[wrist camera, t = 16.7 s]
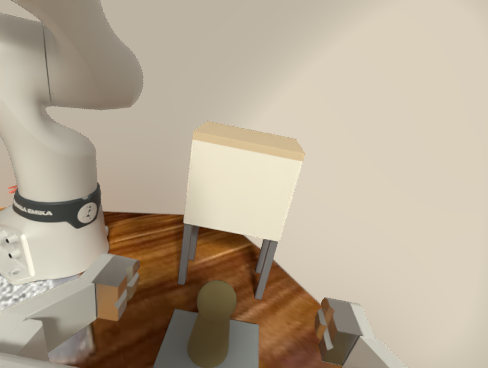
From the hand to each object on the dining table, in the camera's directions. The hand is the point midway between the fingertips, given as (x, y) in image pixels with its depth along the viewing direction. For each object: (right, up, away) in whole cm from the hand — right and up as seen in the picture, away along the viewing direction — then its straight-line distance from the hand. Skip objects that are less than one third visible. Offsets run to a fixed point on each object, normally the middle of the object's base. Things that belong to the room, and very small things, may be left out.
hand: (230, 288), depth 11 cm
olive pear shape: (-5, -19, +25) cm, 32 cm away
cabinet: (-4, -14, +40) cm, 42 cm away
